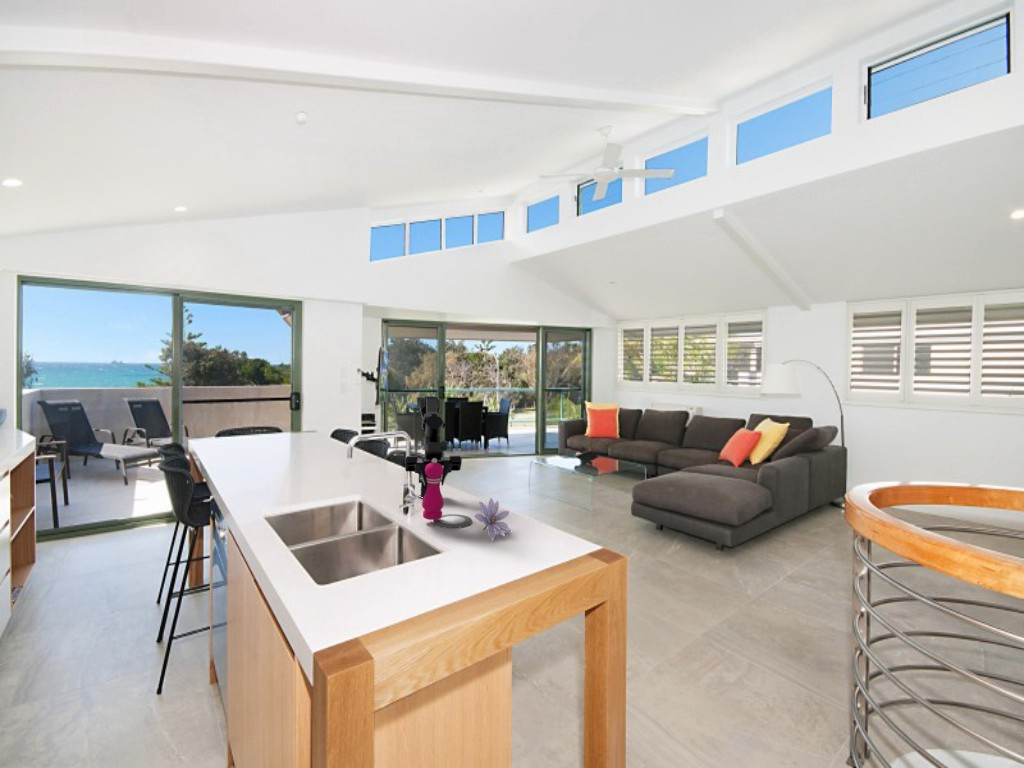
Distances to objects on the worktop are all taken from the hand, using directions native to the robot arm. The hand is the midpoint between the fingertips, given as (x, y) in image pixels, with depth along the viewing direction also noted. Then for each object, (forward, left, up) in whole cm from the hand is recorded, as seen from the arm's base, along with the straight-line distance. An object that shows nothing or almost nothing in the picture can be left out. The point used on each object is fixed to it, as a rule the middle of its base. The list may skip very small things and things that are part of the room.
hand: (434, 485), depth 165 cm
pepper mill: (-2, -1, -11) cm, 12 cm away
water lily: (-2, +22, -14) cm, 26 cm away
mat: (-6, +4, -13) cm, 15 cm away
